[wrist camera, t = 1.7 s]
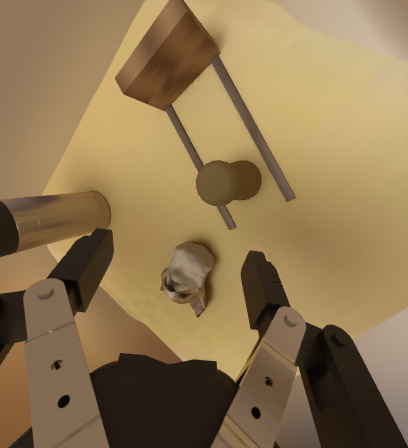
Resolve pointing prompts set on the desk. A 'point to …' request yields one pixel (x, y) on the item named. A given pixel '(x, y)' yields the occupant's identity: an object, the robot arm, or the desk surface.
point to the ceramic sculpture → (188, 276)
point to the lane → (185, 78)
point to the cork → (227, 182)
